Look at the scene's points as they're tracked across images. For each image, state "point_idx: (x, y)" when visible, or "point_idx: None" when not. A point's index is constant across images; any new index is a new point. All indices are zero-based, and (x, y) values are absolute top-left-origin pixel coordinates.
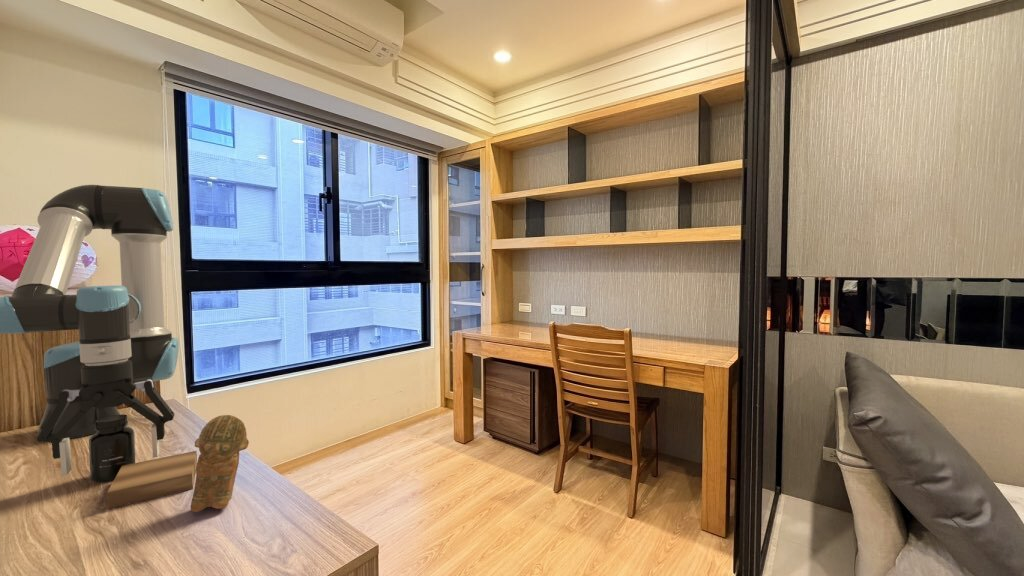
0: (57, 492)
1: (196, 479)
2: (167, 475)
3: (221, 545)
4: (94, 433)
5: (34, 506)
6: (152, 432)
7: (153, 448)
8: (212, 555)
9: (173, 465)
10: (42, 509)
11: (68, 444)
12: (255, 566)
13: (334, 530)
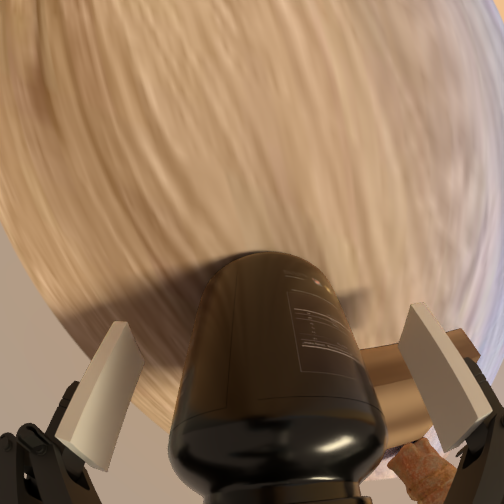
0: (148, 347)
1: (404, 483)
2: (392, 441)
3: (388, 471)
4: (191, 488)
5: (145, 386)
6: (439, 431)
7: (414, 373)
8: (379, 476)
9: (415, 415)
10: (172, 403)
11: (90, 426)
12: (394, 477)
13: (444, 456)
